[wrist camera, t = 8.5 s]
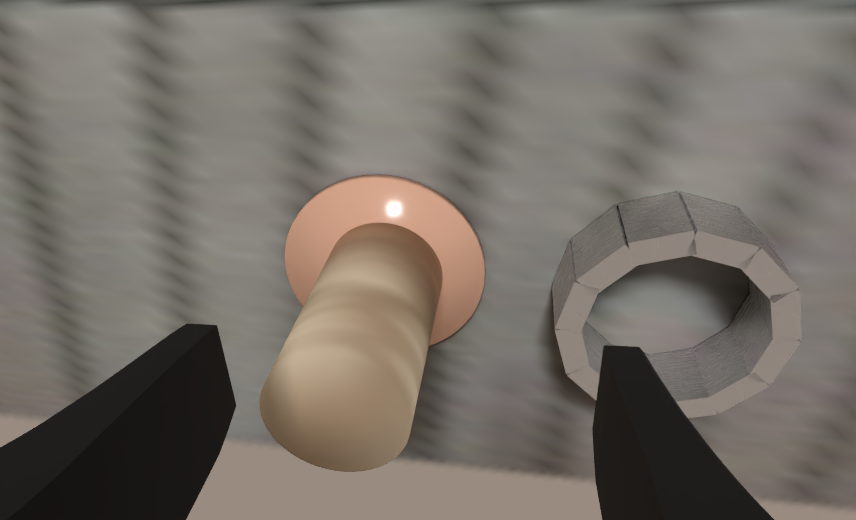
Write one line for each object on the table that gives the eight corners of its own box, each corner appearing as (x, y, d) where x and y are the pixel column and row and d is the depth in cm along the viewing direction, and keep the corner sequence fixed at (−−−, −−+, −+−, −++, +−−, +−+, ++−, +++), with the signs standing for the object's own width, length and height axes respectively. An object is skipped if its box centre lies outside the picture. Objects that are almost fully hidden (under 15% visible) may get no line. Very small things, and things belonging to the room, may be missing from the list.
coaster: (527, 270, 23) (527, 277, 23) (394, 373, 26) (392, 380, 26) (374, 131, 21) (372, 136, 21) (250, 261, 24) (246, 267, 24)
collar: (818, 295, 22) (849, 342, 20) (642, 399, 26) (652, 450, 23) (685, 150, 20) (704, 186, 18) (512, 283, 24) (511, 327, 21)
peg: (466, 274, 23) (442, 422, 17) (393, 338, 25) (349, 491, 19) (376, 200, 22) (317, 330, 16) (307, 272, 24) (231, 413, 18)
